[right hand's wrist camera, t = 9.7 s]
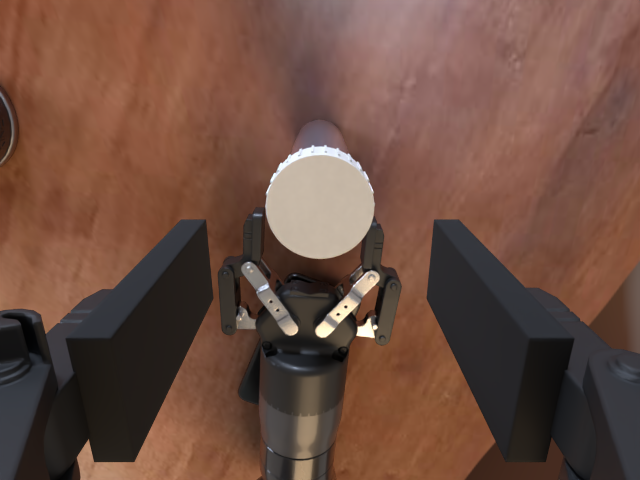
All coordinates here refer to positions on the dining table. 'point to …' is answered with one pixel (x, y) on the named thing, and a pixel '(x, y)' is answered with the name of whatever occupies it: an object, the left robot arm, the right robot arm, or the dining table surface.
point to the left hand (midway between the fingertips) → (315, 214)
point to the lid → (319, 202)
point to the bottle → (319, 136)
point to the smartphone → (252, 375)
